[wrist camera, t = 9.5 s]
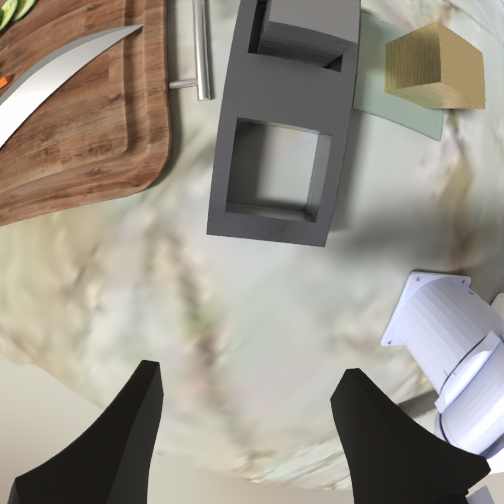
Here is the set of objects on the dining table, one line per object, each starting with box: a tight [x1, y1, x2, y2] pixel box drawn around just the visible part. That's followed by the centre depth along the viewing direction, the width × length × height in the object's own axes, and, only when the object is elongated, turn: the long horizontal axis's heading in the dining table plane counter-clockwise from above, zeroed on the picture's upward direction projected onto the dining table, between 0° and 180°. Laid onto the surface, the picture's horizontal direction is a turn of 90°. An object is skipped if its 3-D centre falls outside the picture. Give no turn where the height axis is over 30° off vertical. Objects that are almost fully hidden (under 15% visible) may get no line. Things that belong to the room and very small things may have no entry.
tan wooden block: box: [384, 22, 485, 109], centre depth 11 cm, size 4×4×6 cm
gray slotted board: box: [206, 0, 361, 247], centre depth 14 cm, size 7×17×2 cm, turn 172°
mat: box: [352, 12, 444, 141], centre depth 14 cm, size 8×8×1 cm
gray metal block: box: [257, 0, 360, 68], centre depth 10 cm, size 4×4×6 cm
